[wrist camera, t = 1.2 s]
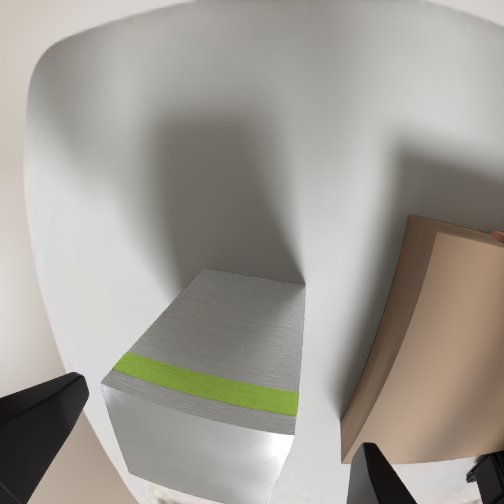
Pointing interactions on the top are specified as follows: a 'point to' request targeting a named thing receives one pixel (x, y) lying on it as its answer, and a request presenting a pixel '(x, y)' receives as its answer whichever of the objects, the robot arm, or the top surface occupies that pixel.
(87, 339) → the top surface
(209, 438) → the metal column
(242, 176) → the top surface
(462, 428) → the walnut riser
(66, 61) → the top surface
